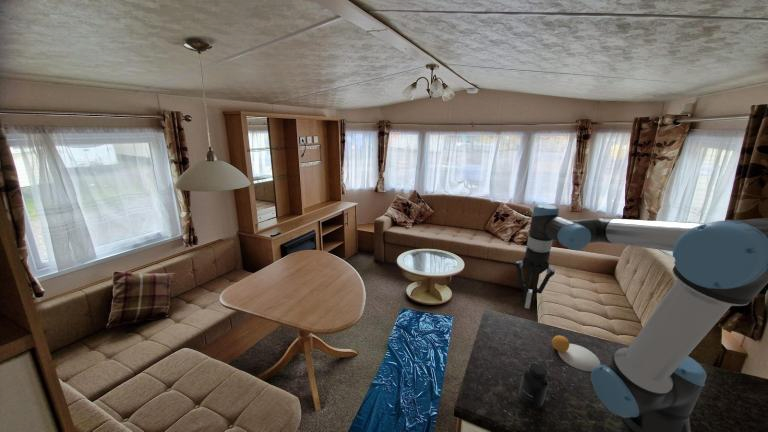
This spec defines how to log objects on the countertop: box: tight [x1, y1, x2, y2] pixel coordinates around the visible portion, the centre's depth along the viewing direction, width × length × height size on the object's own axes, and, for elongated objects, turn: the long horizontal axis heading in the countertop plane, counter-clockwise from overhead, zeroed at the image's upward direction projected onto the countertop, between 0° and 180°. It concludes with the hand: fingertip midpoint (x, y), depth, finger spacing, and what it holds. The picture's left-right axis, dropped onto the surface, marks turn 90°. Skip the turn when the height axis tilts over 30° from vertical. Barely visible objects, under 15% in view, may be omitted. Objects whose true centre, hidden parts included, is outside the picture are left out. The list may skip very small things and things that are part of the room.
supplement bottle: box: [518, 361, 549, 409], centre depth 92 cm, size 7×7×12 cm
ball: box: [551, 334, 570, 352], centre depth 113 cm, size 6×6×6 cm
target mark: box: [557, 343, 601, 372], centre depth 111 cm, size 13×13×1 cm
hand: (527, 306), depth 116 cm, fingers closed
